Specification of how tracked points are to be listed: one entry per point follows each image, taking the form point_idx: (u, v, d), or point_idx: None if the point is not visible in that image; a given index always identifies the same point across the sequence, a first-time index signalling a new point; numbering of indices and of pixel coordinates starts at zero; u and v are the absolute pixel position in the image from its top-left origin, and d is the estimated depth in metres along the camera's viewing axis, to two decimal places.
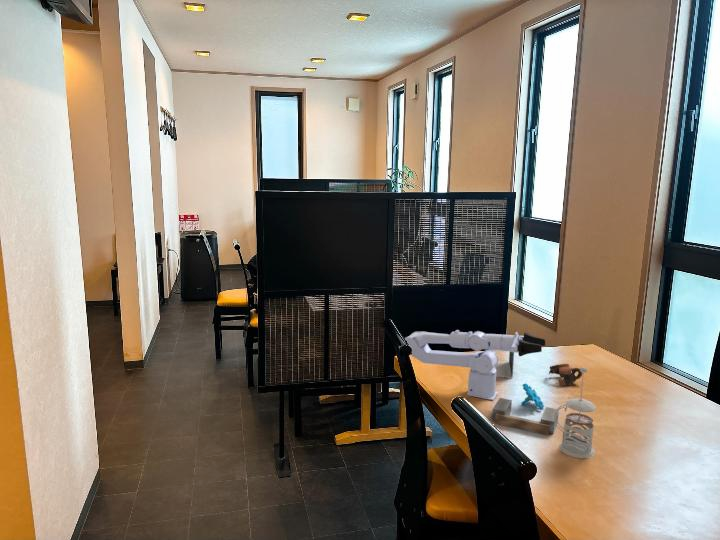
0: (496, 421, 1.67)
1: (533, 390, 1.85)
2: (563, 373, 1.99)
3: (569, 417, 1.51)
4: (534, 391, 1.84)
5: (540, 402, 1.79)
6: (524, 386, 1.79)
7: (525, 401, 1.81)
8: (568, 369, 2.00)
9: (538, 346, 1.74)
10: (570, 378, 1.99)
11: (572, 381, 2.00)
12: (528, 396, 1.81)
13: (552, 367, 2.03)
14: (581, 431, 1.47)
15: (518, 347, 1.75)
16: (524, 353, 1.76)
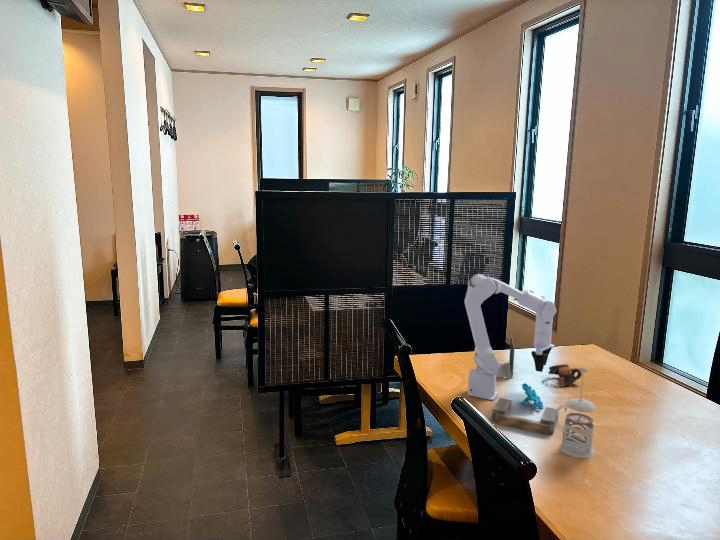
0: (496, 421, 1.67)
1: (533, 390, 1.85)
2: (563, 373, 1.99)
3: (569, 417, 1.51)
4: (534, 391, 1.84)
5: (539, 402, 1.80)
6: (523, 386, 1.80)
7: (524, 401, 1.81)
8: (568, 369, 2.00)
9: (541, 369, 1.87)
10: (569, 379, 1.99)
11: (572, 381, 1.99)
12: (527, 396, 1.81)
13: (552, 367, 2.03)
14: (581, 431, 1.47)
15: None
16: (534, 357, 1.86)
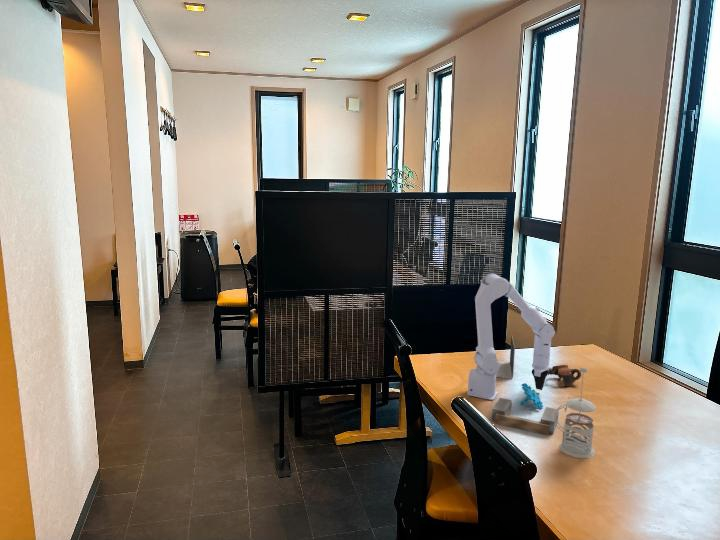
0: (496, 421, 1.67)
1: (533, 390, 1.85)
2: (562, 374, 1.98)
3: (569, 417, 1.51)
4: (534, 391, 1.84)
5: (539, 402, 1.80)
6: (523, 386, 1.80)
7: (524, 401, 1.81)
8: (567, 370, 1.99)
9: (541, 387, 1.91)
10: (569, 379, 1.98)
11: (571, 382, 1.99)
12: (527, 396, 1.81)
13: None
14: (580, 431, 1.47)
15: (540, 373, 1.88)
16: (534, 376, 1.90)
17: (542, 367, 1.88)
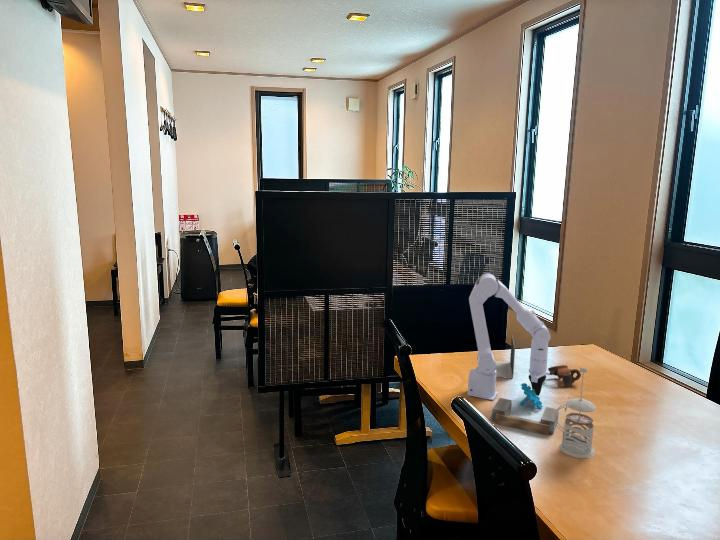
0: (496, 421, 1.67)
1: (532, 390, 1.85)
2: (562, 374, 1.98)
3: (569, 417, 1.51)
4: (533, 391, 1.84)
5: (538, 402, 1.79)
6: (522, 386, 1.80)
7: (523, 401, 1.81)
8: (567, 370, 1.99)
9: (538, 393, 1.86)
10: (568, 380, 1.98)
11: (571, 382, 1.98)
12: (527, 396, 1.81)
13: (551, 368, 2.02)
14: (580, 431, 1.47)
15: (537, 378, 1.83)
16: (531, 381, 1.85)
17: (539, 372, 1.82)
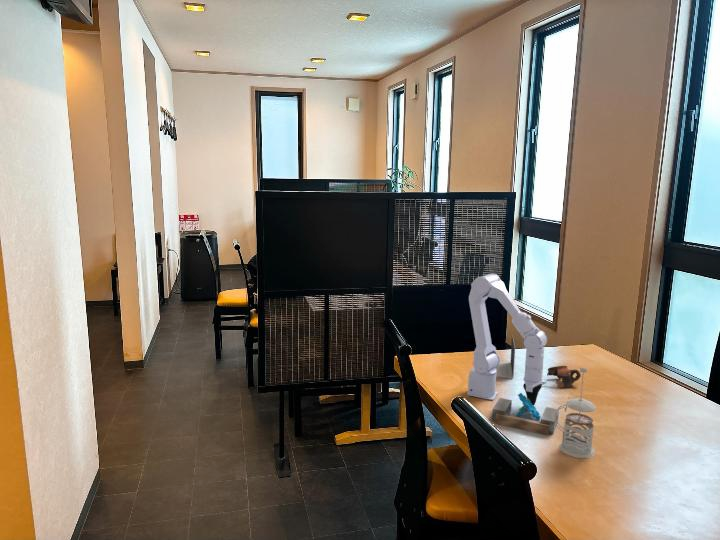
0: (496, 421, 1.67)
1: (528, 399, 1.77)
2: (562, 375, 1.97)
3: (569, 417, 1.51)
4: (529, 401, 1.76)
5: (536, 412, 1.71)
6: (520, 396, 1.71)
7: (521, 412, 1.72)
8: (566, 371, 1.99)
9: (533, 403, 1.78)
10: (568, 380, 1.97)
11: (571, 383, 1.98)
12: (524, 406, 1.72)
13: (550, 369, 2.01)
14: (581, 431, 1.47)
15: (532, 388, 1.75)
16: (526, 390, 1.77)
17: (534, 381, 1.74)
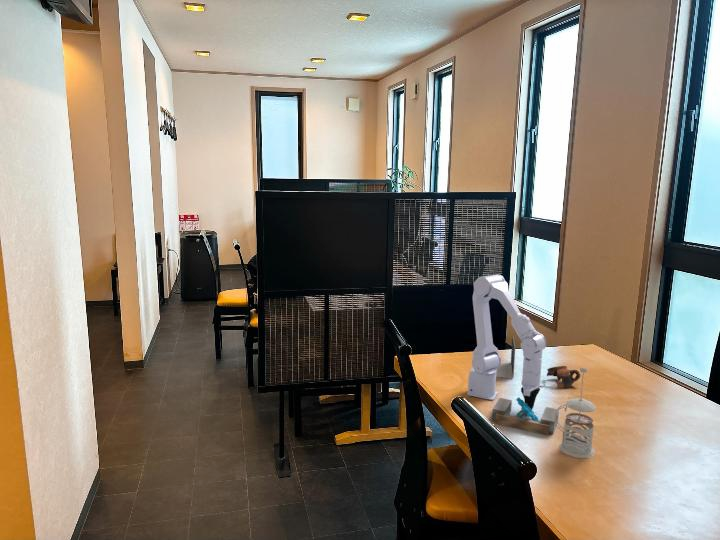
0: (496, 421, 1.67)
1: (525, 404, 1.73)
2: (561, 375, 1.97)
3: (569, 417, 1.51)
4: (527, 405, 1.72)
5: (535, 417, 1.68)
6: (519, 401, 1.67)
7: (520, 417, 1.69)
8: (566, 371, 1.98)
9: (531, 407, 1.74)
10: (568, 380, 1.97)
11: (570, 383, 1.97)
12: (522, 411, 1.69)
13: (550, 369, 2.01)
14: (581, 431, 1.47)
15: (530, 391, 1.72)
16: (524, 394, 1.74)
17: (532, 385, 1.71)
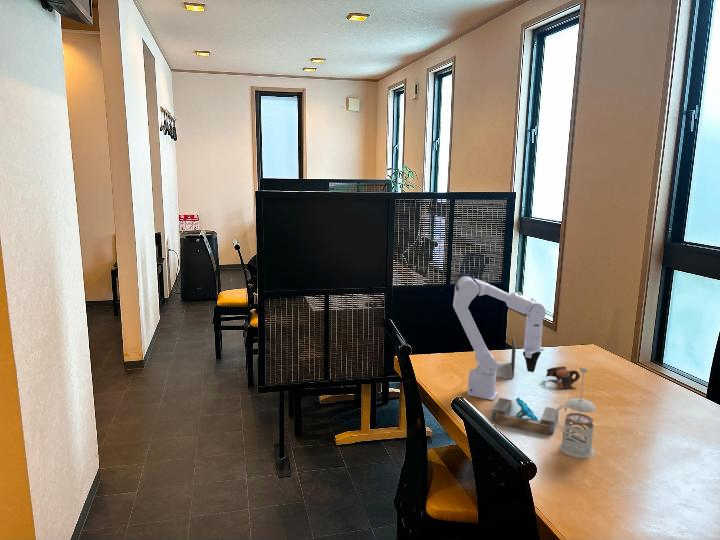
0: (496, 421, 1.67)
1: (525, 404, 1.73)
2: (561, 376, 1.96)
3: (569, 417, 1.51)
4: (526, 405, 1.72)
5: (535, 417, 1.68)
6: (518, 401, 1.67)
7: (519, 417, 1.69)
8: (566, 372, 1.98)
9: (532, 369, 1.87)
10: (567, 381, 1.96)
11: (570, 384, 1.97)
12: (522, 411, 1.69)
13: (549, 370, 2.00)
14: (581, 431, 1.47)
15: (532, 355, 1.84)
16: (525, 358, 1.86)
17: (533, 348, 1.83)
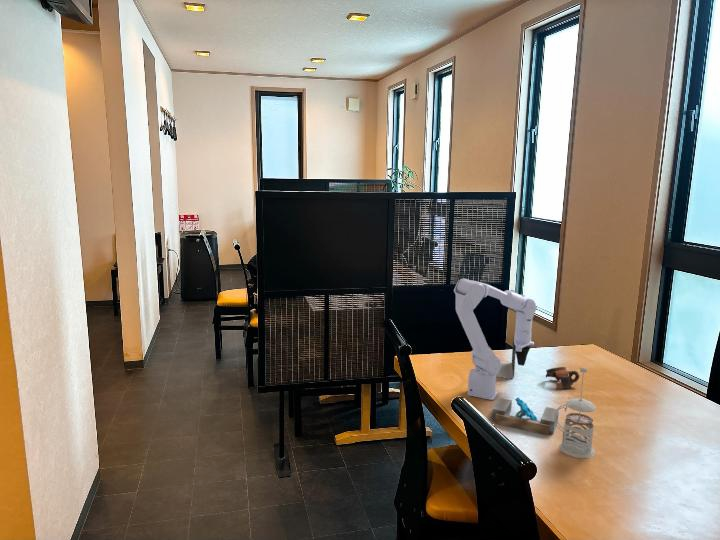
0: (496, 421, 1.67)
1: (525, 404, 1.74)
2: (560, 376, 1.96)
3: (569, 417, 1.51)
4: (526, 405, 1.72)
5: (534, 417, 1.68)
6: (518, 401, 1.67)
7: None
8: (565, 372, 1.97)
9: (523, 363, 1.93)
10: (567, 382, 1.96)
11: (569, 384, 1.96)
12: (521, 411, 1.69)
13: (549, 370, 2.00)
14: (581, 431, 1.47)
15: (522, 348, 1.90)
16: (516, 352, 1.92)
17: (523, 343, 1.90)
